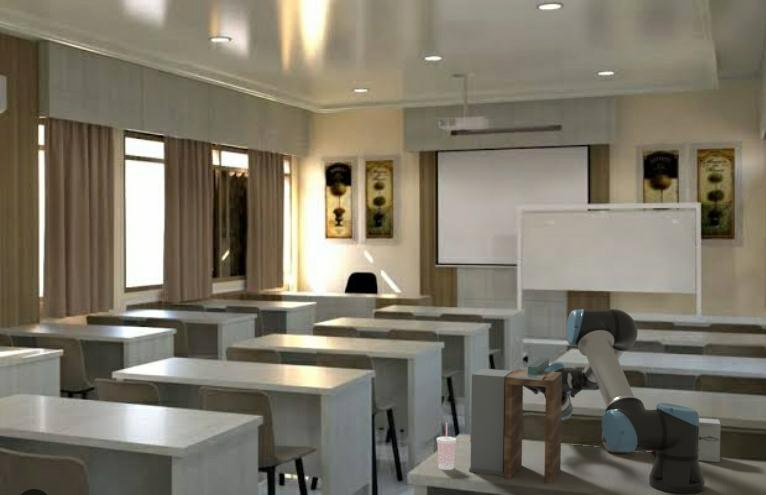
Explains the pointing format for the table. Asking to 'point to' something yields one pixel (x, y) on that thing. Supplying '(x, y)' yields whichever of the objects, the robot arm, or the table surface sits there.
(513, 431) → the riser
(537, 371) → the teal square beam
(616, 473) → the table surface
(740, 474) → the table surface
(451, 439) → the beverage cup
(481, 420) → the pedestal
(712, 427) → the supplement box
